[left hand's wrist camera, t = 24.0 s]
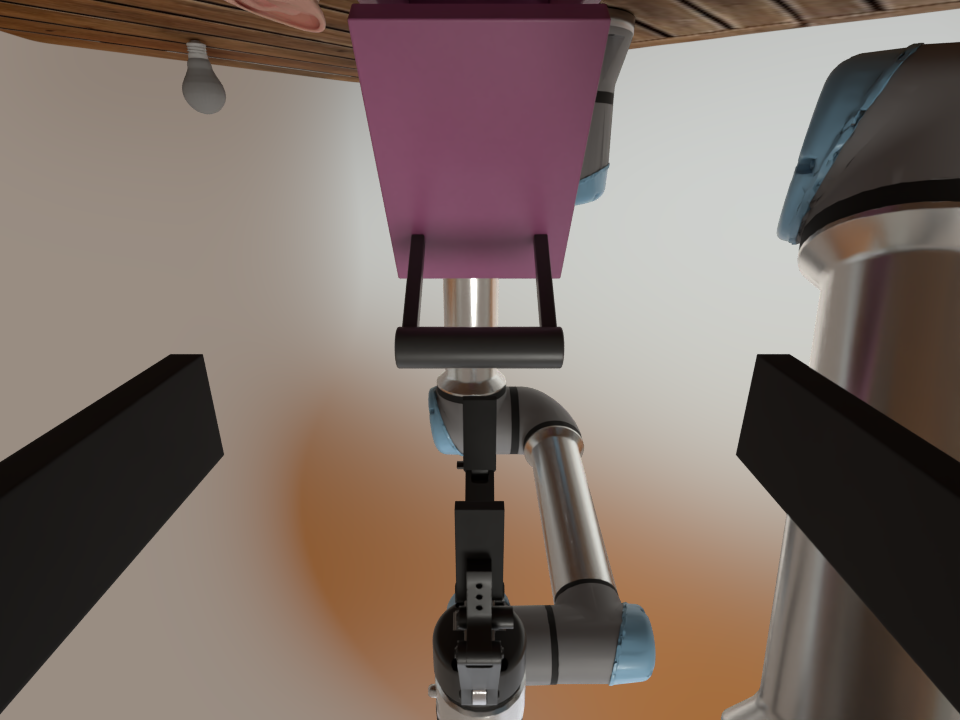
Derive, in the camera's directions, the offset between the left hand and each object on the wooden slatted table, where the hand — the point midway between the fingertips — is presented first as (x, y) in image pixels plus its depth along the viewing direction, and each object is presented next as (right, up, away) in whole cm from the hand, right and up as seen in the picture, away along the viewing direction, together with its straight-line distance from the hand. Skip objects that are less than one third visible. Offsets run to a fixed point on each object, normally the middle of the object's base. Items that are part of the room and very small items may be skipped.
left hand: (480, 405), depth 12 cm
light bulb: (-43, +50, +65) cm, 93 cm away
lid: (0, +11, +12) cm, 16 cm away
